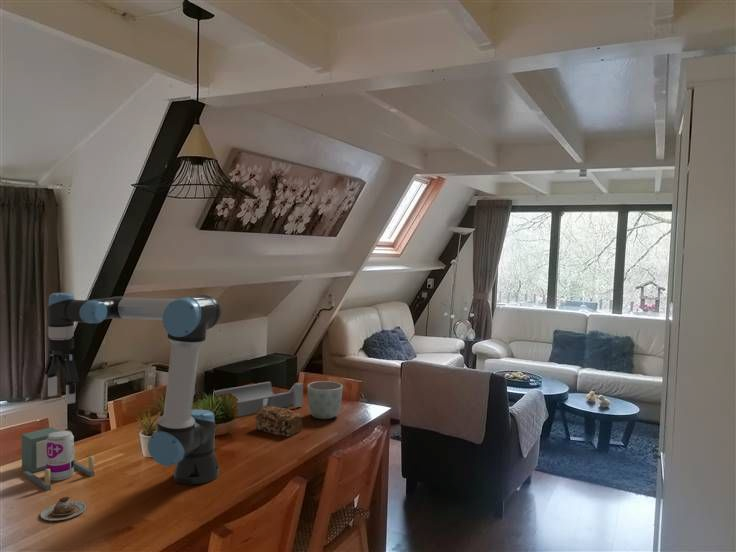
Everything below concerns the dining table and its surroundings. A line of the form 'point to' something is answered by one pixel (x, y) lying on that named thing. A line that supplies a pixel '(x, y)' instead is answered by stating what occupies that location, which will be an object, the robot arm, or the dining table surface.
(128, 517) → the dining table surface
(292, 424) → the bread
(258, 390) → the grey channel bracket
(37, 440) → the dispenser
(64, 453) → the supplement can
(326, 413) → the planter
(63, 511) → the pastry
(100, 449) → the dining table surface
